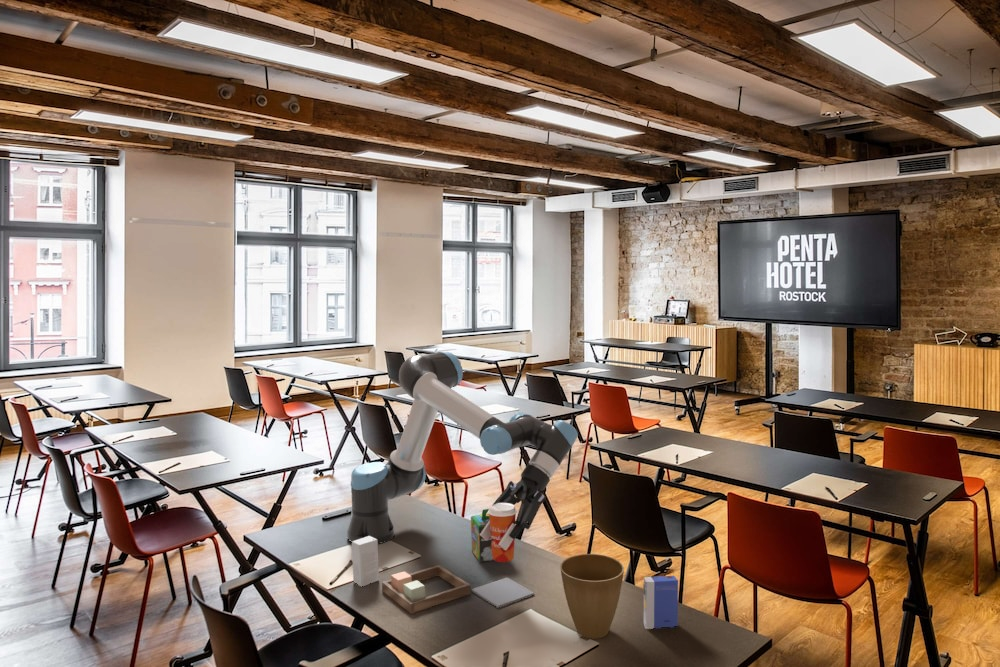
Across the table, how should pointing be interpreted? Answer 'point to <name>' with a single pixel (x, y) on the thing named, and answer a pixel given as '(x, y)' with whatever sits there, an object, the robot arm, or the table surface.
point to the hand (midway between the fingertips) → (492, 542)
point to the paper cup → (501, 530)
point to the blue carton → (660, 601)
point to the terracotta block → (400, 581)
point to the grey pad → (502, 592)
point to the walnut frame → (432, 600)
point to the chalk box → (480, 537)
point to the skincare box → (365, 561)
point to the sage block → (414, 590)
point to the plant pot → (592, 592)
